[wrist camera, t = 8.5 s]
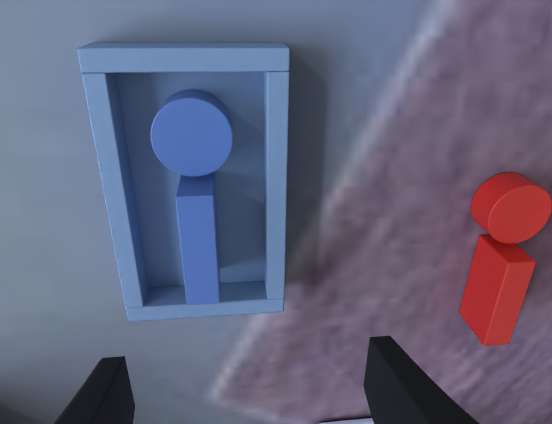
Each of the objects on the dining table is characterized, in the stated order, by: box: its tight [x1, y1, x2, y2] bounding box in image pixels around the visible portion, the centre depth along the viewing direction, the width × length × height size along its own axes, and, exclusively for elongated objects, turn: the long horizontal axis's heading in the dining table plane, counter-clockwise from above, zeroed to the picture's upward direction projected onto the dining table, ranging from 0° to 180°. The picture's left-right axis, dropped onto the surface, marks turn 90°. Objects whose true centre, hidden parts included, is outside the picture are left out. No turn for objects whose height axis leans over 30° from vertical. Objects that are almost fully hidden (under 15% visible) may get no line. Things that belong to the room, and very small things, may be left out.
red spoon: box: [459, 173, 552, 346], centre depth 21 cm, size 8×3×3 cm, turn 0°
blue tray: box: [77, 42, 290, 322], centre depth 18 cm, size 12×7×2 cm, turn 0°
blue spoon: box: [150, 89, 233, 305], centre depth 17 cm, size 8×3×3 cm, turn 0°
